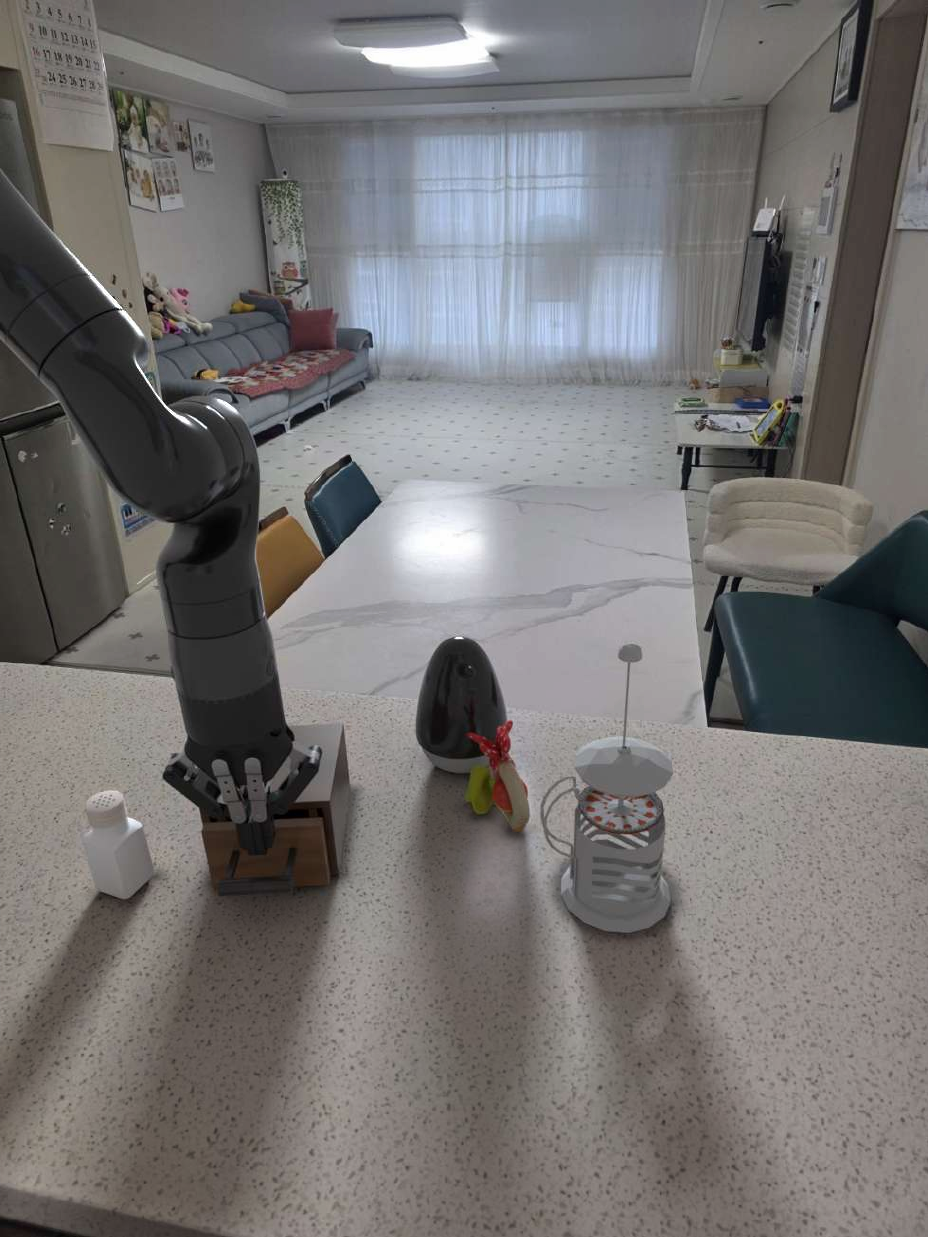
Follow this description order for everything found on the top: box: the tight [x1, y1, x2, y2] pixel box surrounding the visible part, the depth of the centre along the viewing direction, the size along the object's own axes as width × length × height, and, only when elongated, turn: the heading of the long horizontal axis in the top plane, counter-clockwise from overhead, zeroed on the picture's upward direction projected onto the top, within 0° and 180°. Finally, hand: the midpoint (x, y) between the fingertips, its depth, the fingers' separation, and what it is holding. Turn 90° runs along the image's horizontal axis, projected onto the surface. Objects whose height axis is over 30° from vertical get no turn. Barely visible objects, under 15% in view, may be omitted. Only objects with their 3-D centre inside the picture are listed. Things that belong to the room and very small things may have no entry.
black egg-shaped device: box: [415, 635, 509, 774], centre depth 89 cm, size 10×10×15 cm
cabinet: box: [198, 722, 352, 876], centre depth 80 cm, size 13×12×9 cm
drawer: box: [200, 808, 331, 898], centre depth 76 cm, size 16×10×7 cm, turn 2°
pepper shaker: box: [81, 789, 155, 900], centre depth 75 cm, size 4×4×10 cm
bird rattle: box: [464, 719, 531, 832], centre depth 81 cm, size 6×11×9 cm
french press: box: [539, 641, 674, 934], centre depth 68 cm, size 10×12×25 cm
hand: (259, 848), depth 70 cm, fingers closed
